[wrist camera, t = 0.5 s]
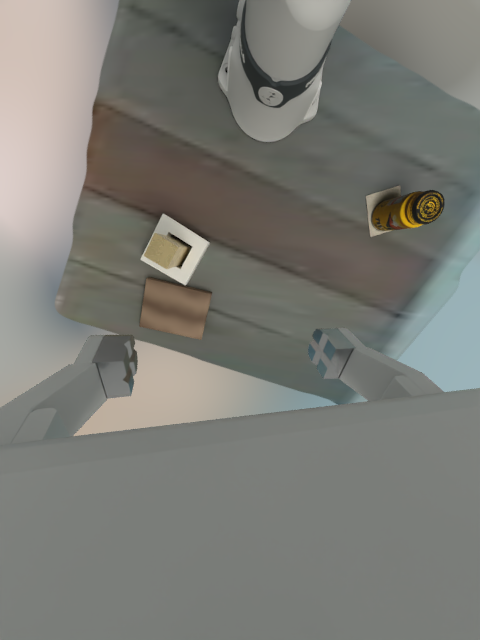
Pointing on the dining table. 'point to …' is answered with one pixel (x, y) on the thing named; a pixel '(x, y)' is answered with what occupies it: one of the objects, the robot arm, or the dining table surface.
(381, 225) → the condiment
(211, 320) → the dining table surface
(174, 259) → the peg
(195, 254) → the socket block
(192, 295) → the board
